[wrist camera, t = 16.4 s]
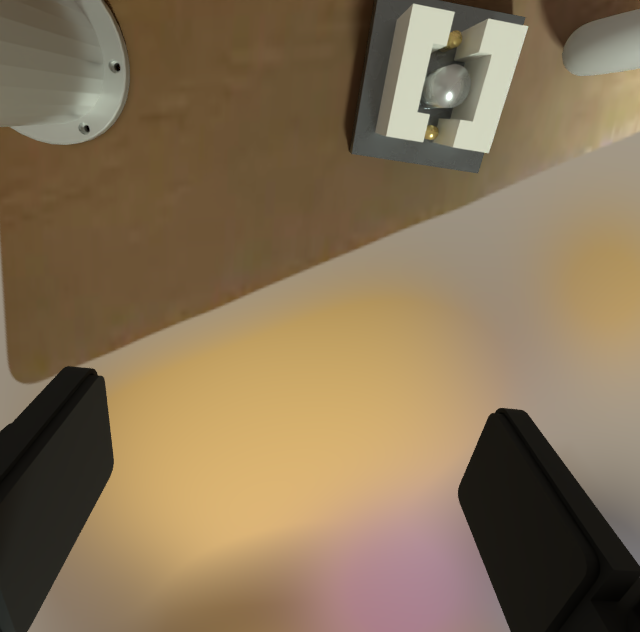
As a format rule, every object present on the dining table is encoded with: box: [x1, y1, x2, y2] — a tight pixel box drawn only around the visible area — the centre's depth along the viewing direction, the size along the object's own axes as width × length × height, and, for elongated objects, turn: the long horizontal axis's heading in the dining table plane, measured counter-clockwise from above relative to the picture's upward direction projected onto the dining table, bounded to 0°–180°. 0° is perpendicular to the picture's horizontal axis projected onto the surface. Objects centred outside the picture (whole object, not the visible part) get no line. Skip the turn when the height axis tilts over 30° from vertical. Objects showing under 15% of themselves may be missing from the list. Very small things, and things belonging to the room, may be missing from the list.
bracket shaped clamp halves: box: [375, 4, 528, 153], centre depth 29 cm, size 8×8×5 cm
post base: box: [349, 0, 525, 173], centre depth 30 cm, size 11×11×6 cm
